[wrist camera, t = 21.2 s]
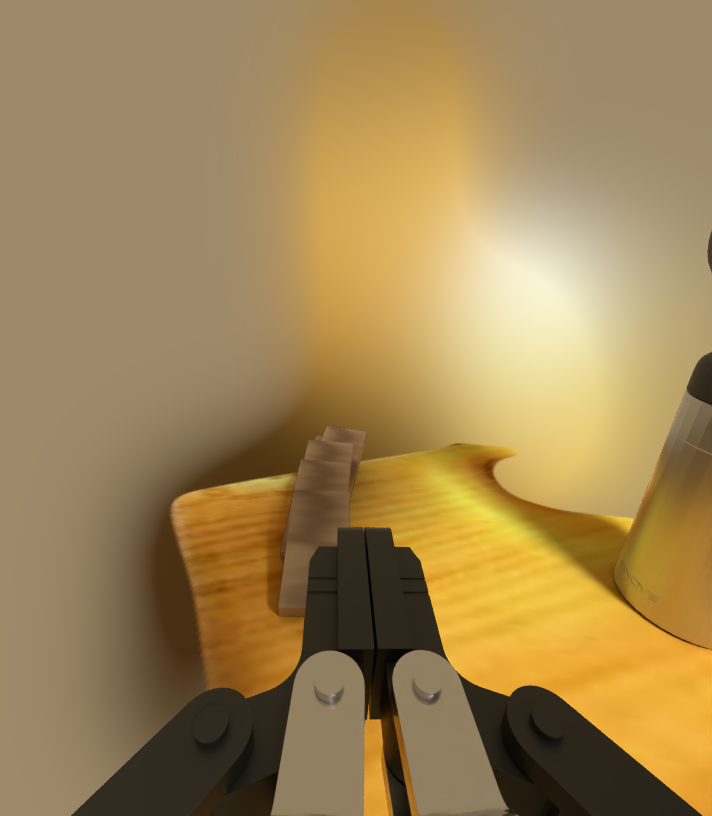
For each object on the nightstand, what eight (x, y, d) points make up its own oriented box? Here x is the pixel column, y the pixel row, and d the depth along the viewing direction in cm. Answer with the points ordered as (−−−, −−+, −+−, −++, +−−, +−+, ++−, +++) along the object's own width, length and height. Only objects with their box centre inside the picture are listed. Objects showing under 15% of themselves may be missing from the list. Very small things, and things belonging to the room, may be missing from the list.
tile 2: (340, 566, 33) (349, 472, 40) (340, 557, 32) (349, 463, 39) (281, 561, 33) (301, 469, 41) (280, 551, 32) (300, 459, 39)
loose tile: (348, 617, 28) (348, 502, 36) (349, 608, 27) (349, 491, 35) (279, 616, 28) (294, 500, 36) (278, 607, 27) (293, 489, 35)
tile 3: (343, 531, 37) (352, 452, 45) (343, 522, 36) (353, 443, 44) (291, 526, 37) (309, 449, 45) (290, 517, 36) (308, 439, 44)
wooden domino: (348, 504, 41) (365, 441, 49) (348, 494, 40) (366, 432, 48) (303, 494, 42) (327, 434, 50) (302, 485, 41) (327, 425, 49)
